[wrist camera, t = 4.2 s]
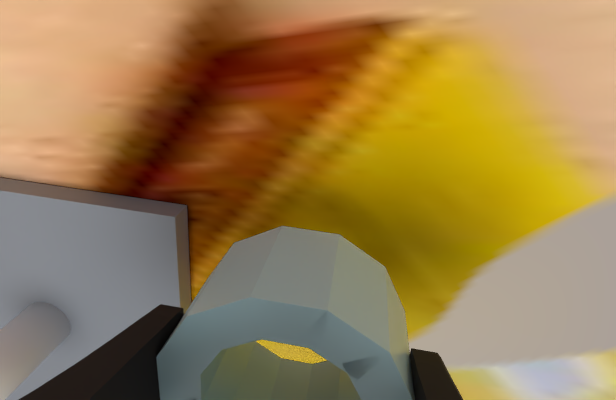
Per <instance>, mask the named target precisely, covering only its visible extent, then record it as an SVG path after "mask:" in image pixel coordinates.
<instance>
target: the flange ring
mask: <svg viewBox="0 0 616 400" xmlns="http://www.w3.org/2000/svg"><path fill="white" fill-rule="evenodd" d="M261 339H263V340H268V341H274V342H279V343H285V344H290V345H296V346H301V347H307V348H310V349H311V350H313V351H314V352H316V353H317V354H319V355H320V356H322V357H323V358H325V359H326V360H328V361H323V362H319V363H315V364H309V363H304V362H299V361H293V360H288V359H282V358H280V357H279V356H277V355H276V354H274V353H272V352H271V351H269V350H268V349H266V348H265V347H263V346H262V345H260V344H259V343H257V342H256V341H257V340H261ZM156 360H157V370H158V381H159V392H160V400H415V397H414V390H413V381H412V372H411V363H410V352H409V344H408V335H407V326H406V317H405V310H404V308H403V306H402V304H401V301H400V299H399V297H398V294H397V292H396V290H395V288H394V285H393V283H392V281H391V279H390V276H389V274H388V272H387V270H386V267H385V266H383V265H382V264H381V263H379V262H378V261H376V260H375V259H374V258H372V257H371V256H369V255H368V254H366V253H365V252H364V251H362V250H361V249H359V248H358V247H357V246H355V245H354V244H352V243H351V242H350V241H348V240H347V239H345V238H344V237H342V236H341V235H340V234H334V233H327V232H320V231H314V230H307V229H300V228H294V227H287V226H280V227H277V228H275V229H272V230H269V231H266V232H263V233H260V234H258V235H255V236H252V237H249V238H246V239H244V240H241V241H238V242H235V243H233V245H232V246H231V247H230V249H229V250H228V252H227V253H226V254H225V256H224V257H223V258H222V260H221V261H220V262H219V264H218V265H217V266H216V268H215V269H214V271H213V272H212V273H211V275H210V276H209V277H208V279H207V280H206V282H205V283H204V285H203V286H202V288H201V289H200V291H199V293H198V294H197V296H196V297H195V299H194V300H193V302H192V303H191V305H190V306H189V308H188V309H187V311H186V312H185V314H184V316H183V317H182V319H181V320H180V322H179V323H178V325H177V326H176V328H175V329H174V331H173V332H172V334H171V335H170V337H169V339H168V340H167V342H166V343H165V345H164V346H163V348H162V349H161V351H160V352H159V354H158V355H157V357H156Z"/></svg>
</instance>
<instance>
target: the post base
mask: <svg viewBox="0 0 616 400" xmlns="http://www.w3.org/2000/svg"><path fill="white" fill-rule="evenodd" d="M160 304H163V305H169V306H174V307H180V308H183V312H184V314H185V312H186V311H187V309H188V308H189V306H190V305H191V285H190V262H189V239H188V216H187V205H182V204H175V203H168V202H162V201H155V200H148V199H141V198H135V197H128V196H121V195H114V194H108V193H101V192H94V191H88V190H81V189H74V188H67V187H61V186H54V185H47V184H40V183H34V182H27V181H20V180H14V179H7V178H0V400H19V399H20V398H22V397H24V396H25V395H27V394H29V393H30V392H32V391H34V390H35V389H37V388H38V387H40V386H42V385H43V384H45V383H46V382H48V381H49V380H51V379H52V378H54V377H56V376H57V375H59V374H60V373H62V372H63V371H65V370H67V369H68V368H70V367H71V366H73V365H74V364H76V363H77V362H79V361H80V360H82V359H83V358H85V357H86V356H88V355H89V354H91V353H92V352H93V351H95V350H96V349H98V348H99V347H101V346H102V345H104V344H105V343H106V342H108V341H109V340H111V339H112V338H114V337H115V336H116V335H118V334H119V333H121V332H122V331H123V330H125V329H126V328H128V327H129V326H130V325H132V324H133V323H135V322H136V321H137V320H139V319H140V318H142V317H143V316H144V315H146V314H147V313H149V312H150V311H151V310H153V309H154V308H156V307H157V306H159V305H160Z"/></svg>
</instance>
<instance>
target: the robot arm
mask: <svg viewBox="0 0 616 400" xmlns="http://www.w3.org/2000/svg"><path fill="white" fill-rule="evenodd" d="M183 316H184V312H183V308H180V307H174V306H169V305H163V304H160V305H159V306H157V307H156V308H154V309H153V310H151V311H150V312H149V313H147V314H146V315H144V316H143V317H142V318H140V319H139V320H137V321H136V322H135V323H133V324H132V325H130V326H129V327H128V328H126V329H125V330H123V331H122V332H121V333H119V334H118V335H116V336H115V337H114V338H112V339H111V340H109V341H108V342H106V343H105V344H104V345H102V346H101V347H99V348H98V349H96V350H95V351H93V352H92V353H91V354H89V355H88V356H86V357H85V358H83V359H82V360H80V361H79V362H77V363H76V364H74V365H73V366H71V367H70V368H68V369H67V370H65V371H63V372H62V373H60V374H59V375H57V376H56V377H54V378H52V379H51V380H49V381H48V382H46V383H45V384H43V385H42V386H40V387H38V388H37V389H35V390H34V391H32V392H30V393H29V394H27V395H25V396H24V397H22V398H20V399H19V400H160V392H159V381H158V370H157V360H156V357H157V355H158V354H159V352H160V351H161V349H162V348H163V346H164V345H165V343H166V342H167V340H168V339H169V337H170V335H171V334H172V332H173V331H174V329H175V328H176V326H177V325H178V323H179V322H180V320H181V319H182V317H183ZM410 363H411V372H412V381H413V390H414V397H415V400H463V398H462V397H461V395H460V393H459V391H458V389H457V387H456V386H455V384H454V382H453V380H452V378H451V376H450V374H449V372H448V370H447V369H446V367H445V365H444V363H443V361H442V359H441V357H440V356H439V354H438V353H435V352H429V351H423V350H417V349H411V352H410Z"/></svg>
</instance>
